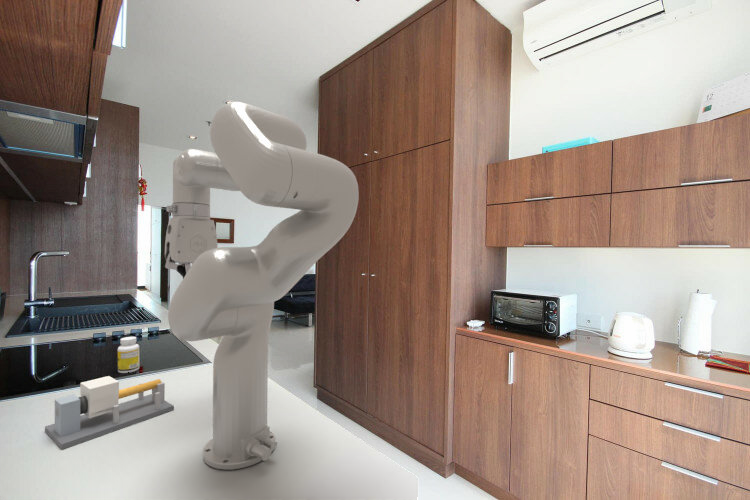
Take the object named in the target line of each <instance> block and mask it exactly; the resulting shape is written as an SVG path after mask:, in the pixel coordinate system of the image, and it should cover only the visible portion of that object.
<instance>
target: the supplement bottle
mask: <svg viewBox="0 0 750 500" xmlns="http://www.w3.org/2000/svg"><path fill="white" fill-rule="evenodd" d="M119 342H120V345H119V346H118V347H117V372H118V373H120V374H128V372H129V373H133V372H136V371H138V370H139V369H140V345H139V344H138V343H137V336H125V337H121V338H120V340H119Z"/></svg>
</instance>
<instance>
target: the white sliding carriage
mask: <svg viewBox="0 0 750 500" xmlns="http://www.w3.org/2000/svg"><path fill="white" fill-rule="evenodd" d="M79 384H80V387H79V388H80V393H79V394H80V397H82V396H85V397H86V398H87V400H88V410H87V413H84V414H85V415H86V416H87V417H89V418H92V417H95V416H98V415H101V414H104V413H107V412H111V411H113V406H115V405H118V404H119V399H118V393H119V390H120V382H119V381H118V380H117V379H115V378H113V377H111V376H110V375H108V376H106V375H105V376H103V377H99V378H95V379H91V380H90V379H89V380H87V381H82V382H80V383H79ZM84 414H83V415H84Z"/></svg>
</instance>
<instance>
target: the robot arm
mask: <svg viewBox="0 0 750 500" xmlns="http://www.w3.org/2000/svg"><path fill="white" fill-rule="evenodd" d="M209 133H210V135H209V136H210V143H211V145H212V148H213V150H214V152H213V151H207V150H203V149H197V148H188V149H185V150H184V151H182V153H181V154H180V155H179V156H177V157H176V158H174V160H173V163H172V203H171V205H167V206H166V208H165V210H166V212H168V213H170V214H171V216H172V217H169V221H168V224H167V228H166V232H165V234H166V235H165V242H164V259H165V265H164V268H165V269H168V270H174V271H176V272H177V273H178V274H179V275H180V277H182V280H181V282H180V284H179V285H178V287H177V288H176V289H175V291H174V294H173V295H172V298H171V300H170V303H169V307H168V311H167V312H168V314H167V319H168V320H167V321H168V322H167V323H168V326H169V328H170V330H171V332H172V333H173V334H174V336H175V337H176V338H178V339H179V340H182V341H184V342H185V341H186V342H198V341H203V340H209V339H214V338H221V337H222V336H224V337H223V339H222V340H221V339H220V340H221V342H220V341H219V344H218V346H217V348H216V350H215V353H214V357H213V366H212V369H213V370H212V372H213V373H212V438H211V439H210V440H209V441H208V442H207V443H206V444H205V446H204V448H203V450H202V458H203V461H204V463H205V464H206V465H207V466H209V467H211V468H213V469H217V470H225V471H226V470H228V471H230V470H238V469H244V468H248V467H251V466H253V465H256V464H257V463H259V462H262V461H264V462H266V461H268V460H269V459H270V458H271V455H272V453H273V451H274V450H275V449H276V448H277V447H278V442H277V441H276V436H275V434H274V433H273V432H272V431H271V427H270V426H268V383H269V382H268V377H269V375H268V371H269V366H268V364H269V341H270V340H269V339H270V332H271V327H272V320H273V316H274V310H275V309H274V308H275V302H276V301H278V300H280V299H282V298H283V297H284V296H286V294H288V293H289V291H291V289H293V287H294V286H295V285H296V284H298V283H299V281H300V280H301V279H302V278H303V277H304V276H305V275H306V274H307V273H308V272H309V271H310V269H311V268H312V267H313V266H314V265H315V264H316V263H317V262H318V260H320V259H321V258H322V257H323V256H324V255H326V253H327V252H329V251H330V250H332V249H333V247H334V246H335V245H337V244H338V243H339V241H340V240H341V239H342V238H343V237H344V236H345V234H346V233H347V232H348V230H349V229H350V227H351V225H352V223H353V222H354V220H355V219H354V218H355V217H356V214H357V210H358V206H359V200H360V199H359V195H360V194H359V193H360V191H359V184H358V181H357V177H356V175H355V174H354V172H353V170H352V169H350V168H349V167H348V166H347V165H346V164H344V163H343V162H341V161H339V160H337V159H335V158H332V157H330V156H327V155H324V154H320V153H318V152H313V151H309V150H307V146H308V145H307V144H308V142H307V138H306V134H305V132H304V131H303V129H302V128H301V127H300V126H299V124H297V122H295V121H294V120H293V119H291V118H289V117H286V116H284V115H282V114H279V113H275V112H272V111H270V110H267V109H265V108H261V107H258V106H255V105H252V104H251V103H245V102H243V101H231V102H230V101H229V102H227V103H224V104H223V105H222V106H221V107H219V109H218V110H217V111H216V113H215V114H214V115H213V117H212V120H211V124H210V129H209ZM211 189H217V190H223V191H229V192H230V191H231V192H241V193H242V195H243V196H244V197H246V198H247V199H248V200H250V202H252V203H255V204H257V205H261V206H264V207H271V208H272V207H273V208H279V209H291V210H298V212H297V211H296V213H294V214H291V216H289V217H287V218H285V219H283V220H281V221H279V223H277V224H276V225H275V226H273V228H272V229H271V230H270V231H269V232H268V234H267V235H266V236H265V238H264V239H263V240H262V241H261V242H260V243H259V244H257V245H254V246H246V247H245V246H240V247H239V246H231V247H229V246H225V247H224V246H223V247H218V237H217V230H216V225H215V220H214V219H211Z"/></svg>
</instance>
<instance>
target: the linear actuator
mask: <svg viewBox="0 0 750 500" xmlns="http://www.w3.org/2000/svg"><path fill="white" fill-rule="evenodd" d="M165 388H166V387H165V382H163V381H162V380H161V379H160V378H157V379H154V380H151V381H148V382H143V383H139V384H137V385H133V386H130V387H129V386H128V387H126V388H122V389H119V393H118V400H120V399H123V398H127V397H131V396H133V395H138V396H137V398H134V399H130V400H127V401H123V402H121V403H118V405H115V406H113V411H111V412H107V413H104V414H101V415H98V416H95V417H92V418H89V417H87V416H86V415H85V414H84V413H87V410H88V400H87V398H86V397H85V396H82V397H81V396H77V395H75V394H70V395H66V396H62V397H59V398H55V399H54V423H52V424H49V425H46V426H44V432H45V434H47V435H48V437H50V439H51V440H52V442H54V443H55V444H56V445H57V447H59V449H60V450H61V451H62V450H66V449H67V448H71V447H73V446H76V445H79V444H82V443H84V442H87V441H90V440H93V439H96V438H99V437H101V436H104V435H107V434H110V433H112V432H116V431H119V430H121V429H124V428H127V427H130V426H132V425H136V424H138V423H141V422H144V421H146V420H150V419H152V418H154V417H158V416H161V415H163V414H166V413H169V412H172V411H174V410H175V405H173V404H172V403H170V402H168V401H166V399H165ZM150 390H151V393H150V394H147V395H144V394H145V393H144V392H147V391H150Z"/></svg>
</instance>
